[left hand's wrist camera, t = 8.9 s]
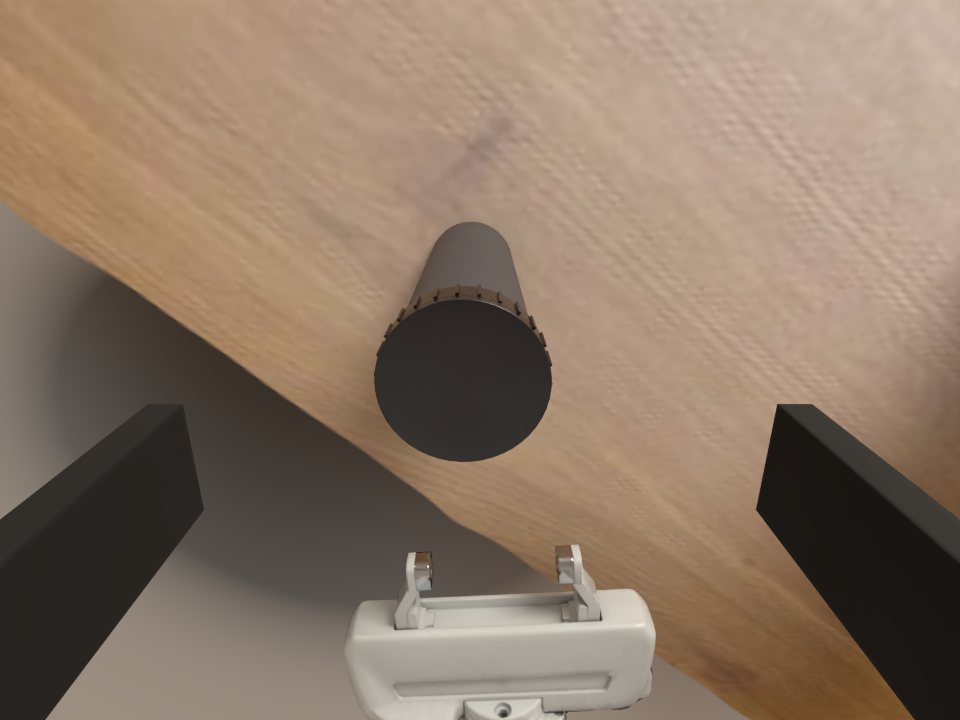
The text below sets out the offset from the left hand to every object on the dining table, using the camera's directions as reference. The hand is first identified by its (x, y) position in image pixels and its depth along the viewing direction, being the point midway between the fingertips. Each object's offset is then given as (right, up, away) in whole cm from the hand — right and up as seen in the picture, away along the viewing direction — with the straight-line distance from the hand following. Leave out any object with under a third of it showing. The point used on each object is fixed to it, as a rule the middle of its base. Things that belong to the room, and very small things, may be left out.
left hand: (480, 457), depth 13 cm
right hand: (+1, -10, +23) cm, 25 cm away
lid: (0, +2, +5) cm, 5 cm away
